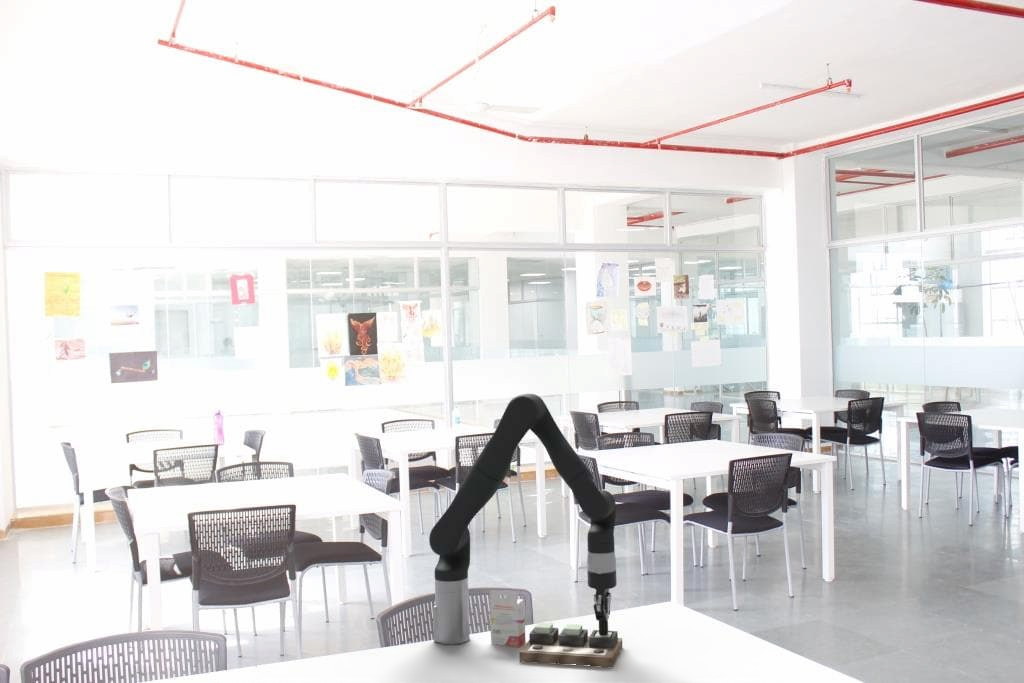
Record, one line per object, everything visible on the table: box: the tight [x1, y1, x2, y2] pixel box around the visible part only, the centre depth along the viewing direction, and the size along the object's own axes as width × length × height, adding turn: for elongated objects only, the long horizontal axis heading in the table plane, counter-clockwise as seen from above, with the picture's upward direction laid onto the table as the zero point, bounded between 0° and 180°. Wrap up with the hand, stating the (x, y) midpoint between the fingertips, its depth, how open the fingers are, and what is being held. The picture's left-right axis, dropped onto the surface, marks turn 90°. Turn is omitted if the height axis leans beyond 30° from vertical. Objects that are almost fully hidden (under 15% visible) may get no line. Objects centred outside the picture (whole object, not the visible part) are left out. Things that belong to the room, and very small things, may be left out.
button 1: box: [534, 622, 554, 634], centre depth 248 cm, size 4×4×2 cm
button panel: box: [519, 627, 623, 668], centre depth 244 cm, size 24×16×5 cm, turn 74°
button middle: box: [563, 623, 583, 636], centre depth 246 cm, size 4×4×2 cm
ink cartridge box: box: [489, 590, 527, 648], centre depth 255 cm, size 9×5×15 cm, turn 68°
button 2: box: [594, 632, 612, 638], centre depth 244 cm, size 4×4×2 cm
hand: (603, 634), depth 244 cm, fingers closed
